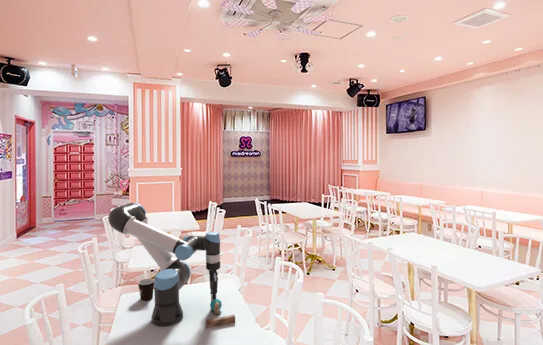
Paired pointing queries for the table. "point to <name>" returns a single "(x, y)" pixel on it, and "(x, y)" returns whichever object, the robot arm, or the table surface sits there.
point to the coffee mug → (146, 289)
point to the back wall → (220, 321)
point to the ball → (214, 303)
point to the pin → (216, 308)
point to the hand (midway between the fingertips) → (213, 303)
